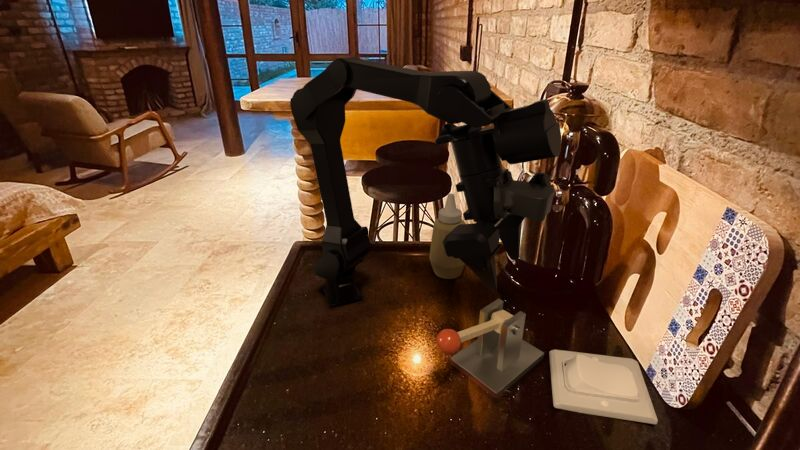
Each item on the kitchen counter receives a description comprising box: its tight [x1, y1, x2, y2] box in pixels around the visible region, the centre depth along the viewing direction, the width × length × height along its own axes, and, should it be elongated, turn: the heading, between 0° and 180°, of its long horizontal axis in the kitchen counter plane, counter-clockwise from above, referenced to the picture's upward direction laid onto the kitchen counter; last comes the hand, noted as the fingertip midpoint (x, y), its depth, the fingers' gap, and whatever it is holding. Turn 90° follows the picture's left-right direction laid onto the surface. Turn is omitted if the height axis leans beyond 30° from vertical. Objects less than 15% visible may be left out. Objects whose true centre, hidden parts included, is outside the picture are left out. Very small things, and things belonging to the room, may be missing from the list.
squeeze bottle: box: [428, 193, 467, 280], centre depth 84 cm, size 8×8×18 cm
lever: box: [435, 309, 514, 355], centre depth 57 cm, size 15×3×3 cm, turn 130°
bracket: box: [449, 298, 545, 400], centre depth 62 cm, size 12×9×10 cm
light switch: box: [548, 349, 659, 425], centre depth 59 cm, size 11×4×13 cm
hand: (505, 273), depth 58 cm, fingers open, 9 cm apart
